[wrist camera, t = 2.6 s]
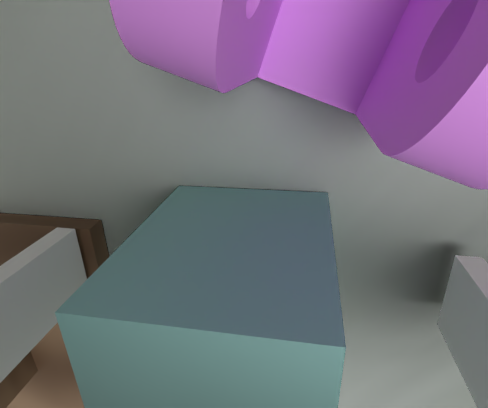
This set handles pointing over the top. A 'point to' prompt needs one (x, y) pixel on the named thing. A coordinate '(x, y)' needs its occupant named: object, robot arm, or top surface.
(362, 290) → the top surface
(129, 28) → the bracket
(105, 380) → the teal rectangular block
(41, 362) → the brown square panel
